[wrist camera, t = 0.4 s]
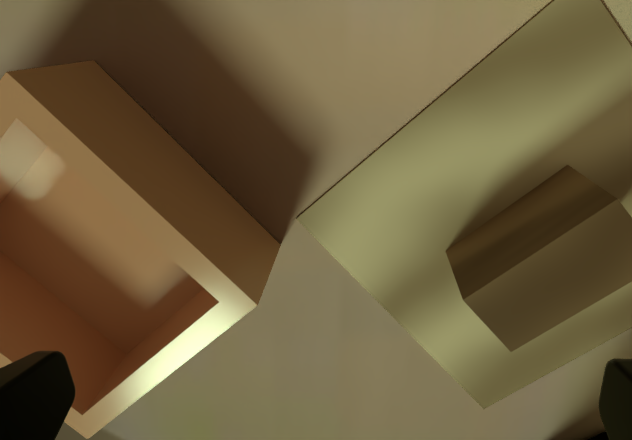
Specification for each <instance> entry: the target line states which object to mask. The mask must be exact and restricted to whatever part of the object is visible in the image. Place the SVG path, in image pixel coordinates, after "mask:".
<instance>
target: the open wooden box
mask: <svg viewBox="0 0 632 440" xmlns="http://www.w3.org/2000/svg"><path fill="white" fill-rule="evenodd" d="M280 246H281V245H280V244H279V243H278V242H277V241H276V240H275V239H274V238H273V237H272V236H271V235H270V234H269V233H268V232H267V231H266V230H265V229H264V228H263V227H262V226H261V225H260V224H259V223H258V222H257V221H256V220H255V219H254V218H253V217H252V216H251V215H250V214H249V213H248V212H247V211H246V210H245V209H244V208H243V207H242V206H241V205H240V204H239V203H238V202H237V201H236V200H235V199H234V198H233V197H232V196H231V195H230V194H229V193H228V192H227V191H226V190H225V189H224V188H223V187H222V186H221V185H219V184H218V183H217V182H216V181H215V180H214V179H213V178H212V177H211V176H210V175H209V174H208V173H207V172H206V171H205V170H204V169H203V168H202V167H201V166H200V165H199V164H198V163H197V162H196V161H195V160H194V159H193V158H192V157H191V156H190V155H189V154H188V153H187V152H186V151H185V150H184V149H183V148H182V147H181V146H180V145H179V144H178V143H177V142H176V141H175V140H174V139H173V138H172V137H171V136H170V135H169V134H168V133H167V132H166V131H165V130H164V129H163V128H162V127H161V126H160V125H159V124H158V123H157V122H156V121H155V120H154V119H153V118H152V117H151V116H150V115H148V114H147V113H146V112H145V111H144V110H143V109H142V108H141V107H140V106H139V105H138V104H137V103H136V102H135V101H134V100H133V99H132V98H131V97H130V96H129V95H128V94H127V93H126V92H125V91H124V90H123V89H122V88H121V87H120V86H119V85H118V84H117V83H116V82H115V81H114V80H113V79H112V78H111V77H110V76H109V75H108V74H107V73H106V72H105V71H104V70H103V69H102V68H101V67H100V66H99V65H98V64H97V63H96V62H95V61H94V60H93V61H85V62H78V63H70V64H62V65H55V66H47V67H39V68H32V69H24V70H17V71H9V72H6V73H5V74H4V76H3V77H2V79H1V80H0V368H2V367H4V366H6V365H8V364H10V363H12V362H14V361H17V360H19V359H21V358H23V357H25V356H27V355H29V354H31V353H33V352H36V351H59V352H62V353H63V354H64V355H65V357H66V360H67V363H68V366H69V369H70V372H71V375H72V378H73V381H74V384H75V390H76V393H75V399H74V402H73V404H72V406H71V408H70V410H69V412H68V414H67V416H66V418H65V420H64V422H65V423H66V424H68V425H69V426H70V427H72V428H73V429H75V430H76V431H77V432H78V433H80V434H81V435H83V436H84V437H85V438H87V439H88V438H90V437H91V436H92V435H93V434H95V433H96V432H97V431H98V430H100V429H101V428H102V427H104V426H105V425H106V424H107V423H109V422H110V421H111V420H112V419H114V418H115V417H116V416H118V415H119V414H120V413H121V412H123V411H124V410H125V409H126V408H128V407H129V406H130V405H132V404H133V403H134V402H135V401H137V400H138V399H139V398H140V397H142V396H143V395H144V394H146V393H147V392H148V391H149V390H151V389H152V388H153V387H154V386H156V385H157V384H158V383H160V382H161V381H162V380H163V379H165V378H166V377H167V376H168V375H170V374H171V373H172V372H173V371H175V370H176V369H177V368H179V367H180V366H181V365H182V364H184V363H185V362H186V361H187V360H189V359H190V358H191V357H193V356H194V355H195V354H196V353H198V352H199V351H200V350H201V349H203V348H204V347H205V346H207V345H208V344H209V343H210V342H212V341H213V340H214V339H215V338H217V337H218V336H219V335H221V334H222V333H223V332H224V331H226V330H227V329H228V328H229V327H231V326H232V325H233V324H235V323H236V322H237V321H238V320H240V319H241V318H242V317H243V316H245V315H246V314H247V313H248V312H250V311H251V310H252V309H254V308H255V307H256V306H257V305H258V303H259V300H260V298H261V295H262V293H263V290H264V287H265V285H266V282H267V280H268V277H269V274H270V272H271V269H272V267H273V264H274V261H275V259H276V256H277V254H278V251H279V248H280Z"/></svg>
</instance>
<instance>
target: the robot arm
mask: <svg viewBox="0 0 632 440" xmlns="http://www.w3.org/2000/svg"><path fill="white" fill-rule="evenodd" d="M75 393H76V390H75V384H74V381H73V378H72V375H71V372H70V369H69V366H68V363H67V360H66V357H65V355H64V354H63V353H62V352H59V351H36V352H33V353H31V354H29V355H27V356H25V357H23V358H21V359H19V360H17V361H14V362H12V363H10V364H8V365H6V366H4V367H2V368H0V440H55V438H56V436H57V434H58V432H59V430H60V428H61V426H62V424H63V422H64V420H65V418H66V416H67V414H68V412H69V410H70V408H71V406H72V404H73V402H74V399H75ZM599 412H600V416H601V419H602V422H603V424H604V427H605V430H606V432H603V433H601V434H599V435H597V436H595V437H593V438H590V439H588V440H632V359H612V360H610V361H608V363H607V364H606V367H605V372H604V377H603V382H602V388H601V393H600V398H599Z"/></svg>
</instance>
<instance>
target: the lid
mask: <svg viewBox="0 0 632 440" xmlns="http://www.w3.org/2000/svg"><path fill="white" fill-rule="evenodd" d="M296 219H297V220H298V221H299V222H300V223H301V224H302V225H303V226H304V227H305V228H306V229H307V230H308V231H309V232H310V233H311V234H312V235H313V236H314V237H315V238H316V239H317V240H318V241H319V242H320V243H321V244H322V245H323V247H324V248H325V249H326V250H327V251H328V252H329V253H330V254H331V255H332V256H333V257H334V258H335V259H336V260H337V261H338V262H339V263H340V264H341V265H342V266H343V267H344V268H345V269H346V270H347V271H348V272H349V273H350V274H351V275H352V276H353V277H354V278H355V279H356V280H357V281H358V282H359V283H360V284H361V285H362V286H363V287H364V288H365V289H366V290H367V291H368V292H369V293H370V294H371V295H372V296H373V297H374V298H375V299H376V300H377V301H378V302H379V303H380V304H381V305H382V306H383V307H384V308H385V309H386V310H387V311H388V312H389V313H390V314H391V315H392V317H393V318H394V319H395V320H396V321H397V322H398V323H399V324H400V325H401V326H402V327H403V328H404V329H405V330H406V331H407V332H408V333H409V334H410V335H411V336H412V337H413V338H414V339H415V340H416V341H417V342H418V343H419V344H420V345H421V346H422V347H423V348H424V349H425V350H426V351H427V352H428V353H429V354H430V355H431V356H432V357H433V358H434V359H435V360H436V361H437V362H438V363H439V364H440V365H441V366H442V367H443V368H444V369H445V370H446V371H447V372H448V373H449V374H450V375H451V376H452V377H453V378H454V379H455V380H456V381H457V382H458V383H459V384H460V385H461V386H462V388H463V389H464V390H465V391H466V392H467V393H468V394H469V395H470V396H471V397H472V398H473V399H474V400H475V401H476V402H477V403H478V404H479V405H480V406H481V407H482V408H483V409H485V408H486V407H488V406H490V405H492V404H494V403H496V402H497V401H499V400H501V399H503V398H505V397H506V396H508V395H510V394H512V393H514V392H516V391H517V390H519V389H521V388H523V387H525V386H526V385H528V384H530V383H532V382H534V381H536V380H537V379H539V378H541V377H543V376H545V375H546V374H548V373H550V372H552V371H554V370H556V369H557V368H559V367H561V366H563V365H565V364H566V363H568V362H570V361H572V360H574V359H576V358H577V357H579V356H581V355H583V354H585V353H586V352H588V351H590V350H592V349H594V348H596V347H597V346H599V345H601V344H603V343H605V342H606V341H608V340H610V339H612V338H614V337H616V336H617V335H619V334H621V333H623V332H625V331H626V330H628V329H630V328H632V46H631V45H630V43H629V42H628V40H627V39H626V37H625V36H624V34H623V33H622V31H621V30H620V28H619V27H618V26H617V24H616V23H615V21H614V20H613V18H612V17H611V15H610V14H609V12H608V11H607V9H606V8H605V6H604V5H603V3H602V2H601V0H553V1H552V2H551V3H550V4H549V5H547V6H546V7H545V8H544V9H543V10H541V11H540V12H539V13H538V14H537V15H536V16H534V17H533V18H532V19H531V20H530V21H528V22H527V23H526V24H525V25H524V26H523V27H521V28H520V29H519V30H518V31H517V32H515V33H514V34H513V35H512V36H511V37H510V38H508V39H507V40H506V41H505V42H504V43H502V44H501V45H500V46H499V47H498V48H497V49H495V50H494V51H493V52H492V53H491V54H489V55H488V56H487V57H486V58H485V59H484V60H482V61H481V62H480V63H479V64H478V65H476V66H475V67H474V68H473V69H472V70H471V71H469V72H468V73H467V74H466V75H465V76H463V77H462V78H461V79H460V80H459V81H458V82H456V83H455V84H454V85H453V86H452V87H450V88H449V89H448V90H447V91H446V92H445V93H443V94H442V95H441V96H440V97H439V98H437V99H436V100H435V101H434V102H433V103H432V104H430V105H429V106H428V107H427V108H426V109H424V110H423V111H422V112H421V113H420V114H419V115H417V116H416V117H415V118H414V119H413V120H411V121H410V122H409V123H408V124H407V125H406V126H404V127H403V128H402V129H401V130H400V131H398V132H397V133H396V134H395V135H394V136H393V137H391V138H390V139H389V140H388V141H387V142H385V143H384V144H383V145H382V146H381V147H380V148H378V149H377V150H376V151H375V152H374V153H372V154H371V155H370V156H369V157H368V158H367V159H365V160H364V161H363V162H362V163H361V164H359V165H358V166H357V167H356V168H355V169H354V170H352V171H351V172H350V173H349V174H348V175H346V176H345V177H344V178H343V179H342V180H341V181H339V182H338V183H337V184H336V185H335V186H333V187H332V188H331V189H330V190H329V191H328V192H326V193H325V194H324V195H323V196H322V197H320V198H319V199H318V200H317V201H316V202H315V203H313V204H312V205H311V206H310V207H309V208H307V209H306V210H305V211H304V212H303V213H302V214H300V215H299V216H298V217H297V218H296Z"/></svg>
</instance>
